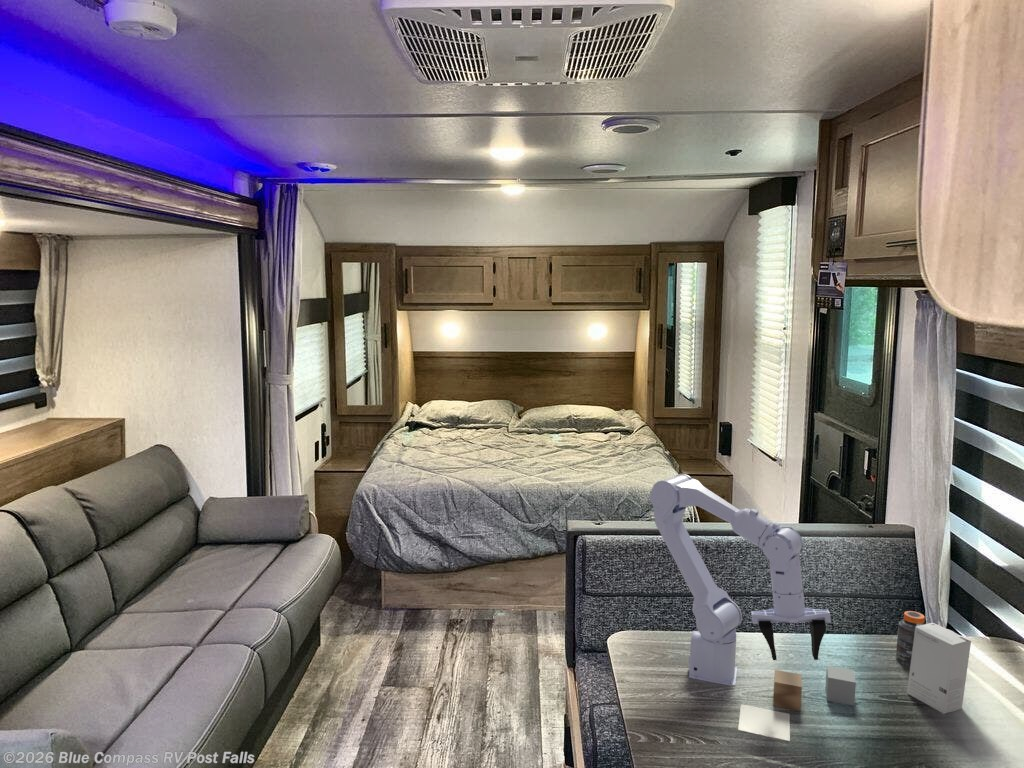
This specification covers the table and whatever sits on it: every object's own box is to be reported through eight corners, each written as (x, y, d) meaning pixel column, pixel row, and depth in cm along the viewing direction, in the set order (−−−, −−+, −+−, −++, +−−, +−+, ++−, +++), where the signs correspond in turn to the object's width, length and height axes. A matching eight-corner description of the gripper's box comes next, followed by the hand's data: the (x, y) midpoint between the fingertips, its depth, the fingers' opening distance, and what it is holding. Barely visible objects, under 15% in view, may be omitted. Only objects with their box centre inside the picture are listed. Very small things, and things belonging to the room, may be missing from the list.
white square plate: (737, 732, 129) (738, 729, 129) (740, 706, 137) (740, 704, 137) (789, 743, 126) (789, 740, 126) (789, 716, 134) (789, 714, 134)
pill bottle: (930, 670, 151) (934, 621, 150) (901, 667, 153) (904, 618, 151) (920, 657, 157) (923, 609, 156) (892, 654, 158) (895, 607, 157)
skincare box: (906, 694, 142) (911, 625, 140) (925, 688, 144) (931, 620, 143) (946, 716, 134) (951, 644, 133) (966, 709, 137) (972, 638, 135)
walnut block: (773, 705, 137) (774, 681, 136) (773, 692, 142) (774, 669, 141) (800, 711, 135) (801, 687, 135) (800, 697, 140) (801, 674, 139)
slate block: (826, 700, 139) (828, 677, 138) (825, 688, 144) (826, 665, 143) (854, 706, 137) (855, 682, 136) (852, 693, 142) (853, 670, 141)
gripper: (751, 597, 135) (758, 666, 135) (831, 595, 131) (838, 666, 132) (747, 586, 142) (754, 651, 142) (823, 584, 138) (830, 651, 138)
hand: (794, 658), depth 137 cm, fingers open, 7 cm apart
